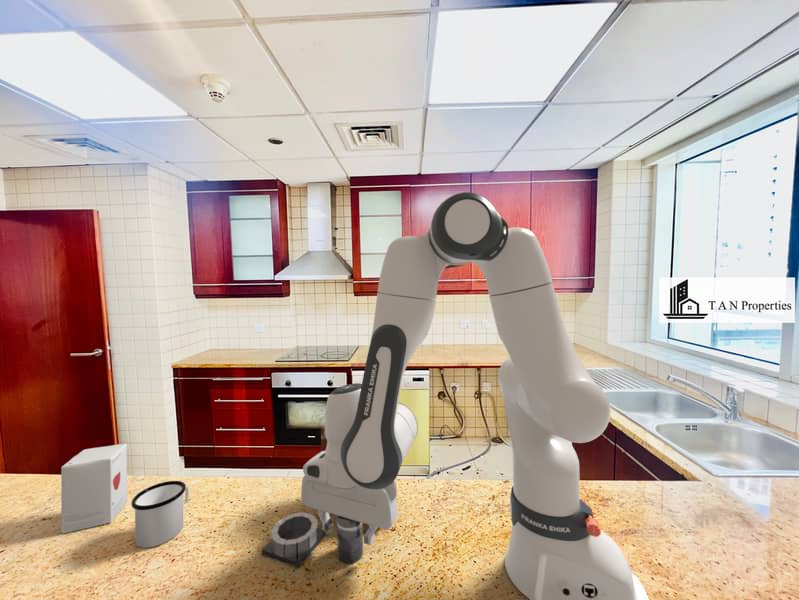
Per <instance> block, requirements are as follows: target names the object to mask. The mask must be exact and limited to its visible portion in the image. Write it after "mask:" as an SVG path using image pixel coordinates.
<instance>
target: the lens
mask: <svg viewBox="0 0 799 600" xmlns="http://www.w3.org/2000/svg"><path fill="white" fill-rule="evenodd" d="M363 524H364V523H362V522H358V521H355V520H351V519H348V518H345V517H341V516H338V515H336V531H337V532H336V533H337V534H336V535H337V539H336V540H337V542H336V543H337V544H336V545H337V559H338V561H339V562H340V563H341V564H344V565H353V564H356V563H358V562H359V561H360V560H361V559H362V557H363V555H364V534H363V533H364V532H363V531H364V529H363V527H364V526H363Z"/></svg>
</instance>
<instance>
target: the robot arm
mask: <svg viewBox="0 0 799 600" xmlns="http://www.w3.org/2000/svg"><path fill="white" fill-rule="evenodd" d="M471 263H473V264H475V266H477V267H478V269H480V271H481V272H482V274H483V276H484V279H485V281H486V288H487V291H488V296H489V301H490V305H491V308H492V313H493V318H494V320H495V321H494V322H495V326H496V329H497V334H498V337H499V339H500V341H501V342H502V344H503V345H504V348H505V349H506V351H507V353H508V355H509V358H507V359H506V360H504V361H503V363H502V364H501V365H500V367H499V369H498V373H497V382H498V385H499V387H500V390H501V393H502V397H503V398H502V399H503V402H504V403H503V404H504V409H505V416H506V420H507V426H508V431H509V437H510V442H511V450H512V487H511V490H510V496H509V497H510V499H509V500H510V501H509V506H510V507H509V509H510V517H511V523H512V524H511V531H510V539H509V544H508V548H507V551H506V554H505V558H504V566H505V567H504V568H505V570H506V571H505V572H506V573H507V575H508V577H509V579H510V581H511V582H512V584H513V585H514V586H515V587H516V588H517V589H518V591H520V592H521V593H522V594H523V595H524V596H525V597H526V598H527V599H529V600H650V598H649V596H648V594H647V592H646V589H645V587H644V585H643V584H642V581H641V580H640V578H639V577H638V576H637V574H635V572H634V571H633V569H631V567H630V565H629V563H628V560H627V558H626V556H625V554H624V553H623V550H622V549H621V547H620V546H619V545H618V543H617V542H616V541H615V540H614V539H613V538H612V537H611V536H609V535H608V534H607V533H605V532H604V531H603V530H601V527H600V524H599V522H598V520H597V519H595V518H594V513H593V510H592V508H591V507H590V506H589V502H588V501H587V499H586V498H585V497H583V500H582V499H581V497H580V490H581V489H580V460H579V458H578V454H577V452H576V450H575V448H574V447H573V444H572V443H575V444H576V443H577V444H585V443H589V442H591V441H593V440H595V439H598V437H601V435H602V434H603V433H604V431H605V430H606V429H607V427H608V425H609V422H610V419H611V413H612V412H611V410H612V409H611V404H610V401H609V397H608V396H607V394H606V393H605V392H604V390H602V388H601V387H600V386H599V385H598V384H597V382H596V381H595V380H593V378H592V376H591V375H590V374H589V372H588V370H587V369H586V368H585V365H584V364H583V362H582V360H581V358H580V356H579V354H578V353H577V351H576V350H577V349H575V346H574V344H573V343H572V340H571V339H570V336H569V333H568V332H567V330H566V328H565V324H564V322H563V319H562V315H561V310H560V306H559V303H558V299H557V295H556V292H555V291H556V290H555V288H554V287H555V286H554V283H553V278H552V274H551V271H550V267H549V263H548V261H547V259H546V256H545V253H544V251H543V248H542V246H541V244H540V241H538V238H537V236H536V235H535V233H534V232H533V231H531V230H530V229H528V228H524V227H518V226H517V227H509V224H508V222H507V221H506V220H505V219H504V218H503V217H502V216H501V214H499V212H497V210H496V208H495V207H494V206H493V204H492V203H491V202H490V201H488V200H487V198H485V197H483V196H482V195H481V194H477V193H474V192H469V191H468V192H467V191H466V192H459V193H456V194H453V195H450V197H448V198H446V199H445V200H444V201H443V202H441V203H440V204H439V205H438V207H436V210H435V212H434V213H433V216H432V219H431V222H430V226H429V229H428V231H427V232H426V233H425V234H423V235H419V236H415V235H407V236H402V237H398V238H396V239H394V240H393V241H391V243H390V244H389V246H388V247H387V250H386V253H385V257H384V258H383V263H382V267H381V271H380V275H379V281H378V286H377V287H378V288H377V293H376V294H377V295H376V302H375V311H374V319H373V327H372V332H371V338H370V344H369V348H368V352H367V357H366V362H365V366H364V372H363V376H362V380H361V381H362V382H361V383H360V382H359V383H358V382H356V383H350V384H344V385H341V386H340V387H337V388H335V389H334V390H332V391H331V392H330V394H328V397H327V401H326V406H325V417H324V418H325V420H324V426H325V434H326V437H327V447H326V451H322V452H321V451H320V452H319V453H317V454H316V455H314V456H313V457H312V458H310V459H309V460H307V462H306V463H305V464H304V465H303V467H302V471H303V478H302V480H301V490H300V491H301V492H300V493H301V494H300V495H301V497H300V498H301V501H302V503H303V505H304V507H307V508H310V509H314V510H317V515H318V518H319V519H320V521H321V523H322V529H323V531H326V533H331V530H332V531H333V528H334V518H331V517H330V514H332V515H333V516H337V515H338V516H341V517H345V518H348V519H351V520H355V521H358V522H362V523H363V524H366V525H368V529H367V530H366V532H365V533H364V534H363V544H365V545H367V546H368V545H369V546H373V543H374V542H375V537H376V535H375V534H376V533H375V532H376V531H377V529H378V528H379V529H382V530H386V531H387V530H390V528H392V526H394V524H395V522H396V521H397V517H398V513H399V512H398V502H397V495H398V494H397V492H398V491H397V483H396V482H395V480H396V478H397V476H398V474H399V472H400V470H401V467H402V464H403V462H404V460H405V458H406V456H408V453H409V451H410V449H411V447H412V445H413V443H414V442H415V440H416V437H417V436H418V435H417V434H418V430H419V428H418V427H419V426H418V421H417V418H416V416H415V414H414V412H413V411H412V410H411V409H410V407H408V406H407V405H406V404H403V403H402V402H401V403H400V402H399V401H400V396H401V395H400V393H401V388H402V382H403V378H404V375H405V371H406V369H407V366H408V364H409V362H410V360H411V359H412V357H413V355H414V354H415V352H416V351H417V350H418V347H420V346H421V344H422V343H423V342H424V340H425V339H426V337H427V336H428V334H429V331H430V328H431V325H432V322H433V319H434V315H435V309H436V304H437V303H436V302H437V301H436V300H437V297H438V296H437V295H438V287H439V282H440V278H441V275H442V272H443V271H444V270H446V269H451V268H456V267H457V268H459V267H462V266H465V265H468V264H471Z"/></svg>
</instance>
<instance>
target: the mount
mask: <svg viewBox="0 0 799 600" xmlns="http://www.w3.org/2000/svg"><path fill="white" fill-rule="evenodd" d="M318 523H319V520H318V519H317V517H315V516H314V514H311V513H308V512H304V511H303V512H294V513H291V514H289V515H286V516H285V517H282V518H281V519H279V520H277V523H275V524H274V526H273V527H272V530H271V532H270V541H269V542H268V543H267V544H265V546H264V547H262V549H261V555H262V556H265V557H268V558H271V559H273V560H276V561H278V562H281V563H283V564H286V565H289V566H291V567H294V568H297V569H299V568H300V567H301V566H302V564H303V563H304V562H305V561H306V559H307V558H308V557H309V556H310V555H311V554H312V552H313V551H314V550H315V549H316V548H317V546H318V545H319V544H320V543H321V542H322V540H323V539H324V538H325V537H326V536H327V532H326V531H323V528H320V527H319V524H318Z"/></svg>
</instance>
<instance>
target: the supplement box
mask: <svg viewBox="0 0 799 600" xmlns="http://www.w3.org/2000/svg"><path fill="white" fill-rule="evenodd" d="M60 468H61V470H60V471H61V472H60V475H61V476H60V477H61V483H60V484H61V494H60V495H61V501H60V502H61V534H66V533H71V532H76V531H81V530H85V528H86V529H89V528H90V529H91V528H95V527H98V525H99V526H104V525H108V524H107V523H109V524H111V522H113V521H114V520H115V519H116V517H117V516H118V515H119V513H120V512H121V511H122V509H123V508H124V507H125V505H126V504H127V502H128V444H127V443H120V444H113V445H107V446H99V447H92V448H86V449H83V450H81V451H80V452H79V453H78V454H76V455H74V456H73V457H72V458H71V459H69V461H68V462H65V464H64V465H62V466H61V467H60ZM125 503H126V504H125ZM120 510H121V511H120ZM117 514H118V515H117ZM114 518H115V519H114ZM103 524H104V525H103ZM94 526H95V527H94Z"/></svg>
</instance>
